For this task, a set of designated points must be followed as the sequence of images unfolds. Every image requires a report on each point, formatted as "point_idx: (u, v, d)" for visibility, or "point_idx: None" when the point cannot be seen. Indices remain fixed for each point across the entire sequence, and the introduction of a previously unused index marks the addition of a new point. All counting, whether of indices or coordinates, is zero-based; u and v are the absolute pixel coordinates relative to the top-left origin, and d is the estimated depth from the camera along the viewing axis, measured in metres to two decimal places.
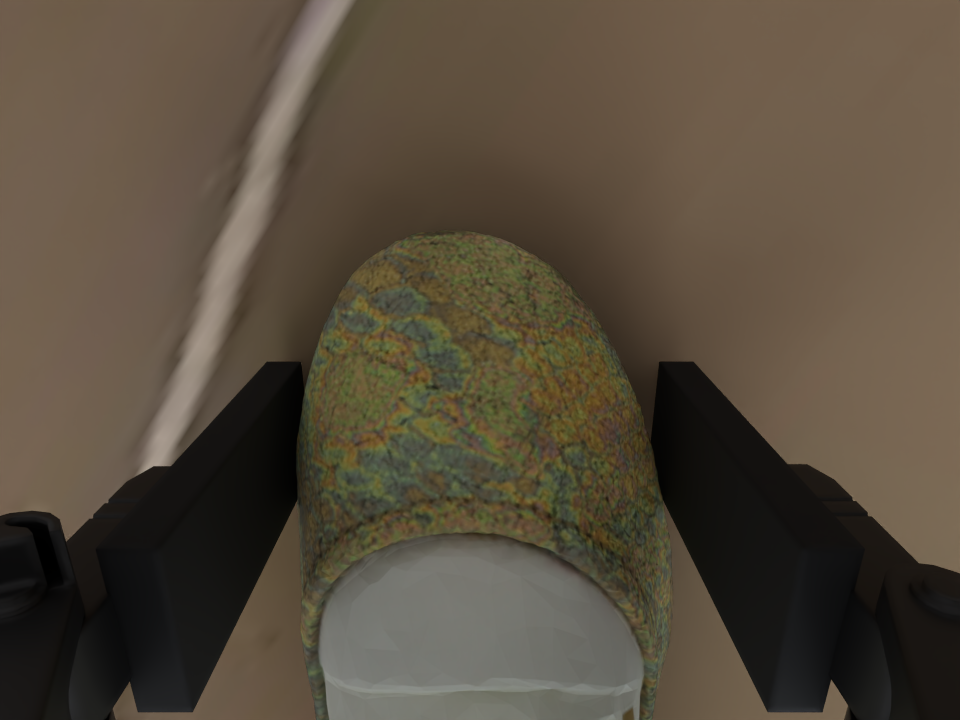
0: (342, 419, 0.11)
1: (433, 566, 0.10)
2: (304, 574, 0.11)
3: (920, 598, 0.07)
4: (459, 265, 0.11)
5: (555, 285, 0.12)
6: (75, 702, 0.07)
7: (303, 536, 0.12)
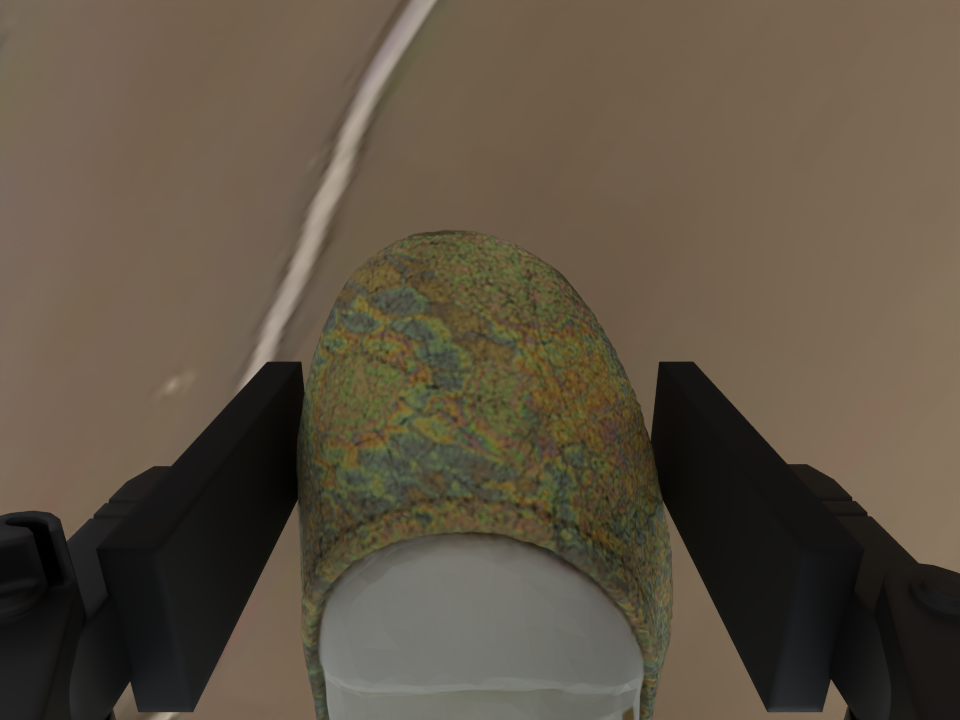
0: (342, 418, 0.11)
1: (433, 565, 0.10)
2: (304, 573, 0.11)
3: (920, 597, 0.07)
4: (459, 265, 0.11)
5: (555, 285, 0.12)
6: (75, 702, 0.07)
7: (303, 535, 0.12)
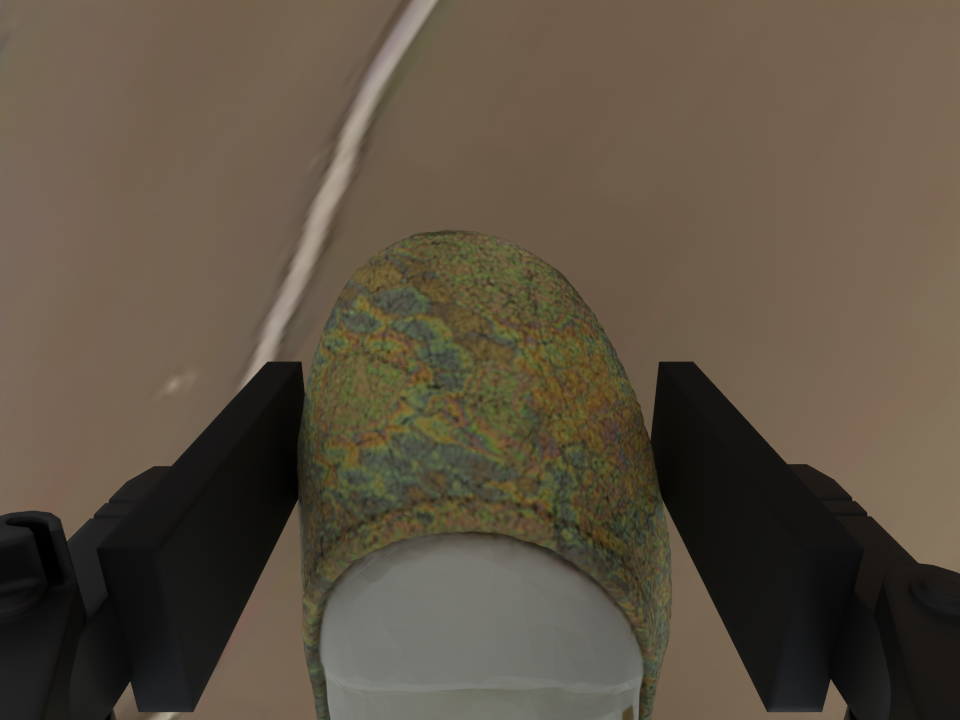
0: (343, 418, 0.11)
1: (435, 565, 0.10)
2: (305, 573, 0.12)
3: (920, 597, 0.07)
4: (460, 265, 0.11)
5: (556, 285, 0.12)
6: (75, 702, 0.07)
7: (304, 535, 0.12)
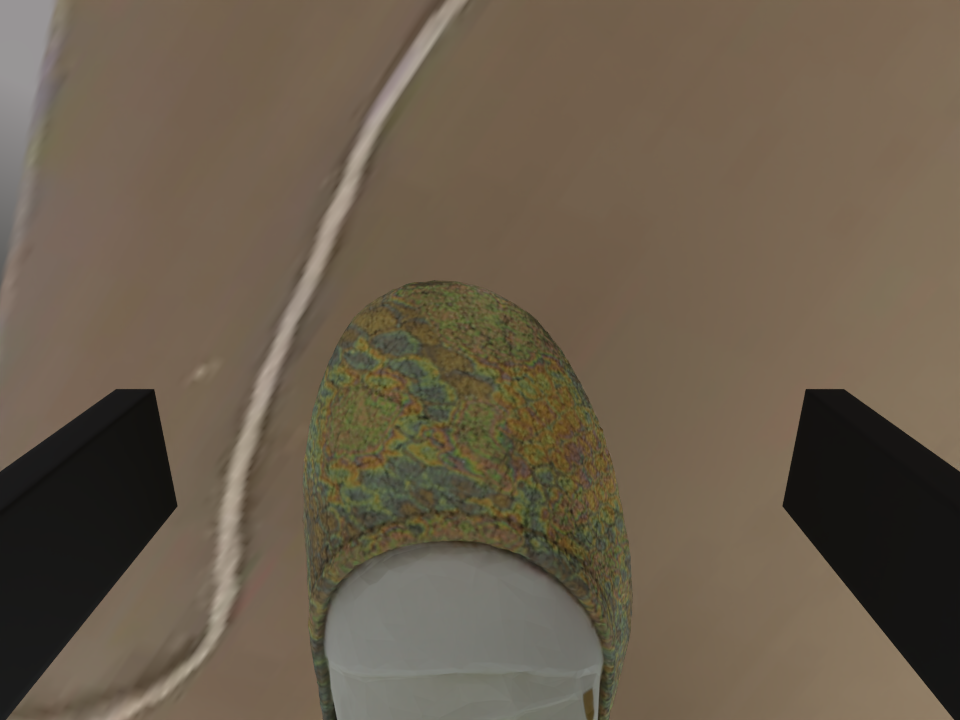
0: (345, 443, 0.13)
1: (424, 569, 0.12)
2: (312, 577, 0.13)
3: None
4: (446, 312, 0.13)
5: (528, 328, 0.14)
6: None
7: (310, 544, 0.14)
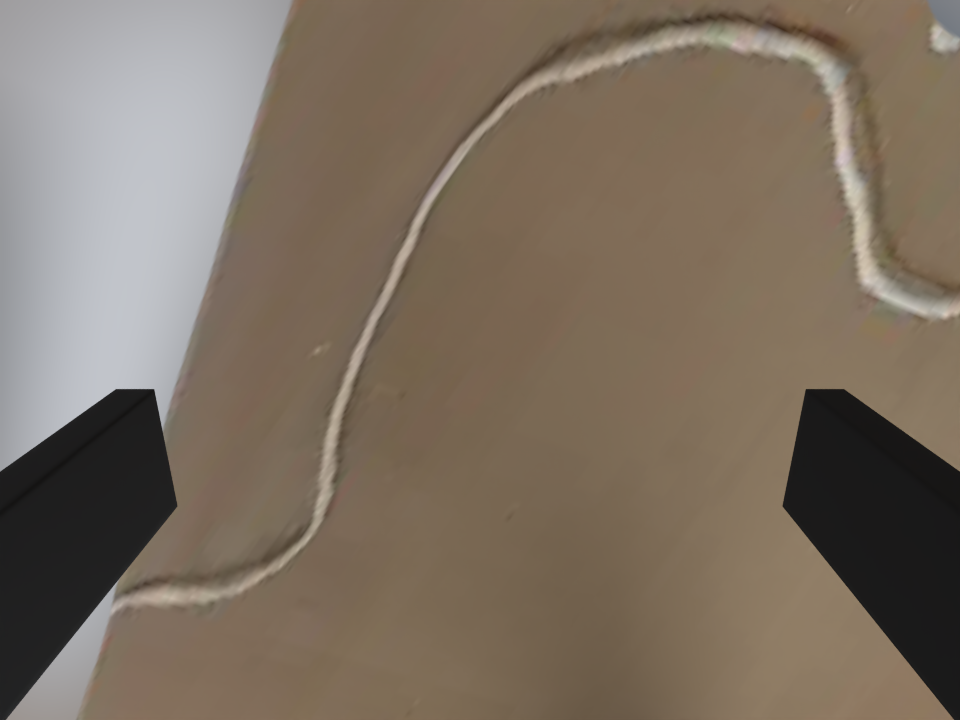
0: None
1: None
2: None
3: None
4: None
5: None
6: None
7: None
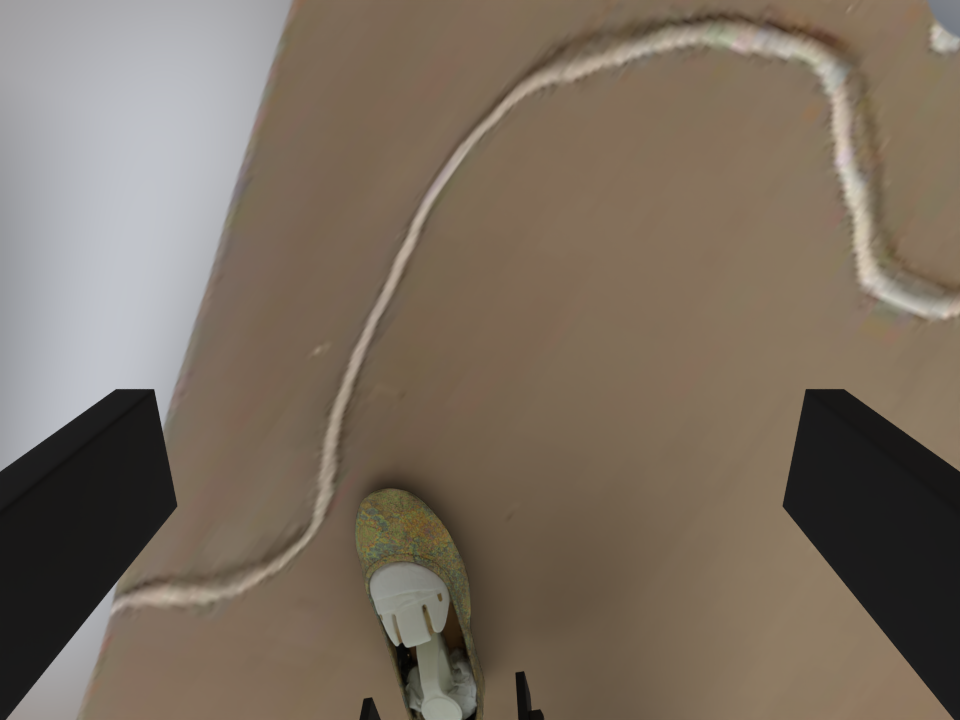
0: (364, 540, 0.49)
1: (389, 570, 0.47)
2: (363, 577, 0.49)
3: None
4: (383, 499, 0.49)
5: (408, 498, 0.49)
6: None
7: (362, 568, 0.49)
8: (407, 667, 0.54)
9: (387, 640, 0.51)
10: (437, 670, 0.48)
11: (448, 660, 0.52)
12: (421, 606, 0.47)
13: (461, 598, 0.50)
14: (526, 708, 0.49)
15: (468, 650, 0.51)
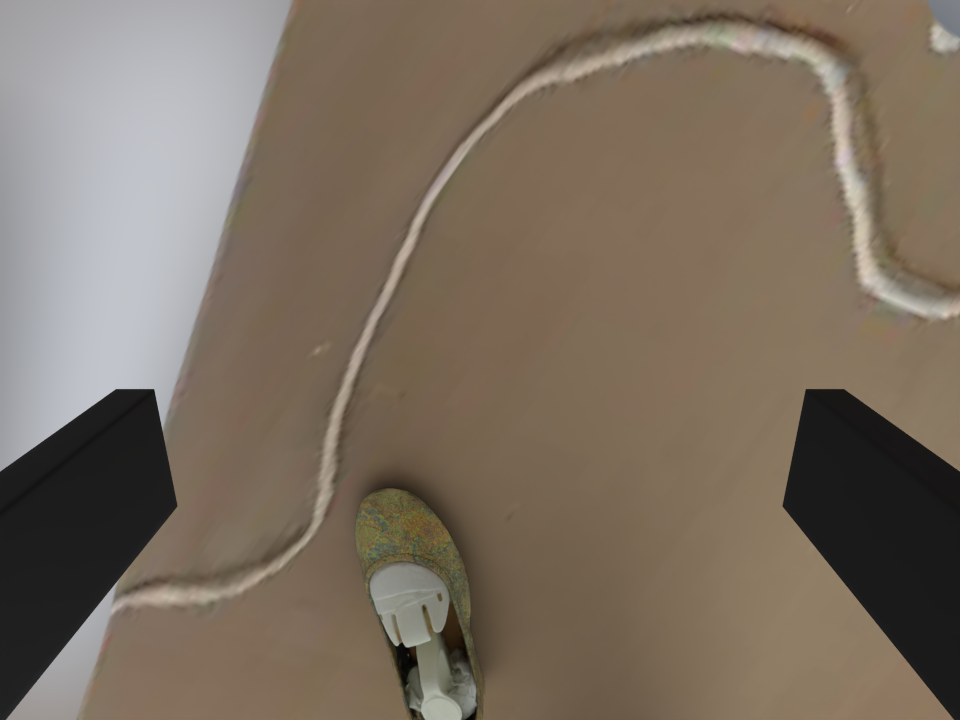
0: (364, 540, 0.49)
1: (389, 570, 0.47)
2: (363, 577, 0.49)
3: None
4: (383, 499, 0.49)
5: (408, 497, 0.49)
6: None
7: (362, 568, 0.49)
8: (407, 667, 0.54)
9: (387, 640, 0.51)
10: (437, 670, 0.48)
11: (448, 660, 0.52)
12: (421, 606, 0.47)
13: (461, 598, 0.50)
14: None
15: (468, 650, 0.51)
